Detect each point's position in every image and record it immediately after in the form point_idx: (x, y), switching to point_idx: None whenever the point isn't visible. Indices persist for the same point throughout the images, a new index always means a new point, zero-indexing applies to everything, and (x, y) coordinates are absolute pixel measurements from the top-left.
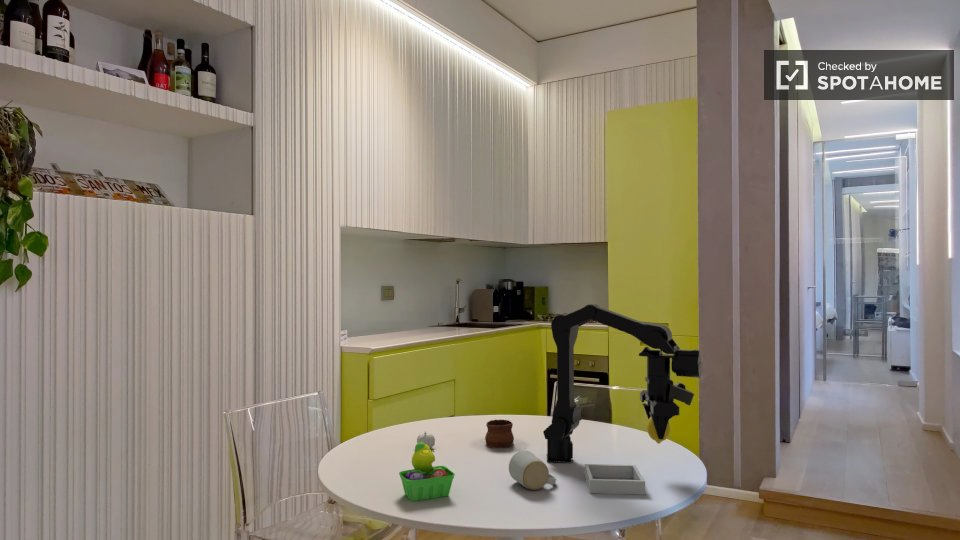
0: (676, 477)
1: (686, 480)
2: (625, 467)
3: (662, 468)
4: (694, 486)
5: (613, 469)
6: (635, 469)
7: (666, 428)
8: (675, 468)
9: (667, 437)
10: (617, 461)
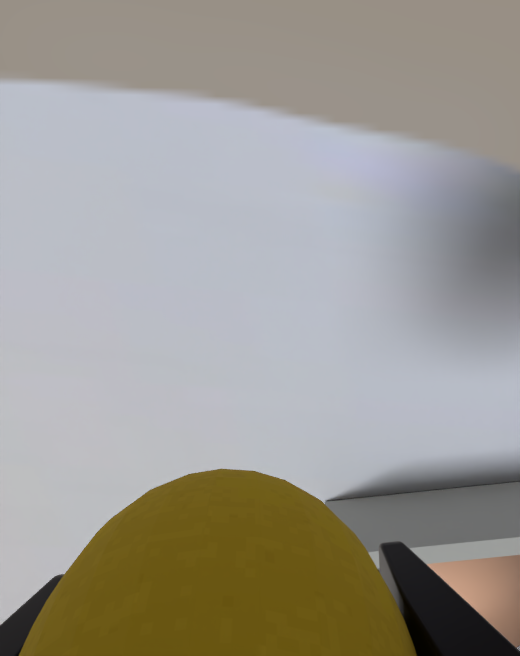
0: (283, 268)
1: (338, 208)
2: None
3: (102, 338)
4: (461, 170)
5: None
6: (436, 559)
7: (395, 633)
8: (74, 251)
9: (264, 474)
10: (39, 576)
